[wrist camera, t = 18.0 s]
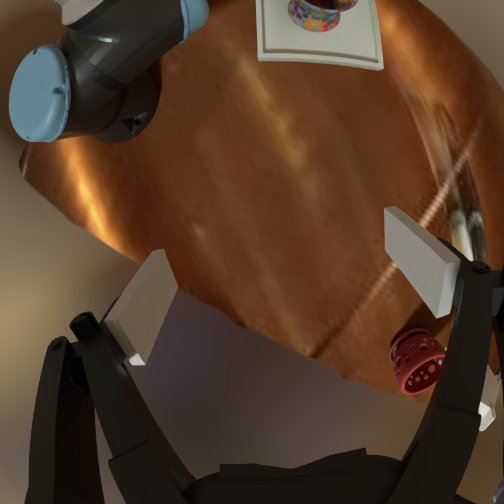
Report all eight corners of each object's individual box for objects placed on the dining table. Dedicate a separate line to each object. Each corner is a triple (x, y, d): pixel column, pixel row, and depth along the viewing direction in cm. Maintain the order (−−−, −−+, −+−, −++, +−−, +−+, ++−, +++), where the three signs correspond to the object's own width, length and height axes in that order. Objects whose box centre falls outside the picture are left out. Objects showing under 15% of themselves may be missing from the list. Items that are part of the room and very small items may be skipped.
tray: (258, 61, 36) (257, 57, 34) (254, -29, 28) (254, -35, 26) (378, 71, 35) (383, 68, 33) (366, -18, 27) (370, -23, 25)
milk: (458, 368, 62) (490, 429, 39) (431, 376, 63) (461, 443, 39) (473, 340, 57) (513, 402, 34) (445, 347, 58) (485, 417, 34)
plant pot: (395, 368, 61) (408, 402, 50) (378, 342, 57) (393, 380, 46) (436, 341, 57) (455, 373, 46) (424, 311, 53) (447, 345, 43)
